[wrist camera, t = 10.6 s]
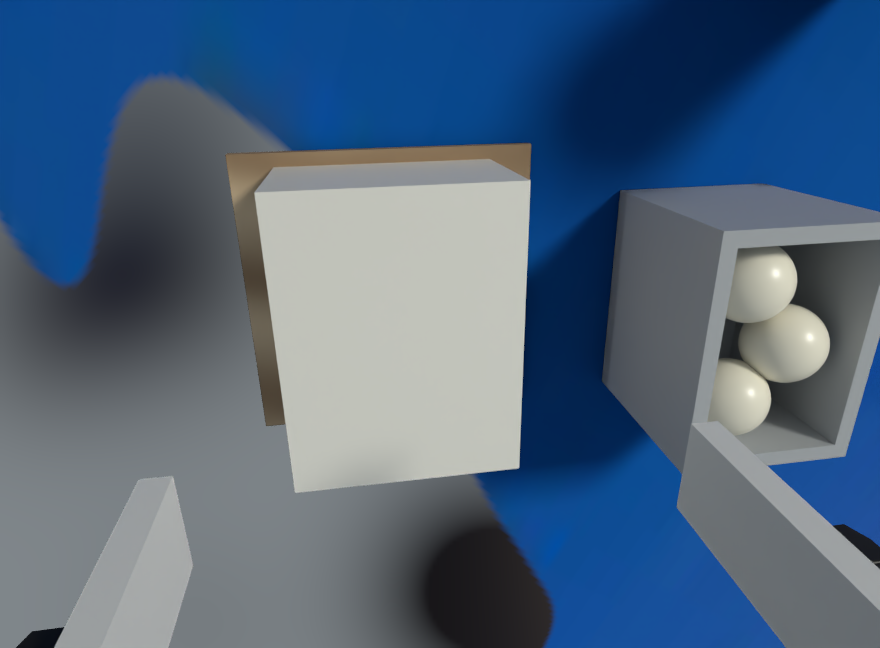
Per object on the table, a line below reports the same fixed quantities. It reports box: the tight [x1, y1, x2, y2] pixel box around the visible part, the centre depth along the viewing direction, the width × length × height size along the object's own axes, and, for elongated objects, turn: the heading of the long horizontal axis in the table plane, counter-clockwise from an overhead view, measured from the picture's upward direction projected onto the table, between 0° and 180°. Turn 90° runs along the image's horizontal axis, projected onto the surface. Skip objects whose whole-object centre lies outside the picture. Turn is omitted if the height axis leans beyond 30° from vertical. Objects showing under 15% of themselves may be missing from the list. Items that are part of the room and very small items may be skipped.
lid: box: [254, 159, 531, 493], centre depth 27 cm, size 13×10×7 cm
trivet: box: [226, 143, 531, 426], centre depth 30 cm, size 14×14×1 cm
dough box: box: [602, 184, 880, 474], centre depth 29 cm, size 11×8×9 cm
